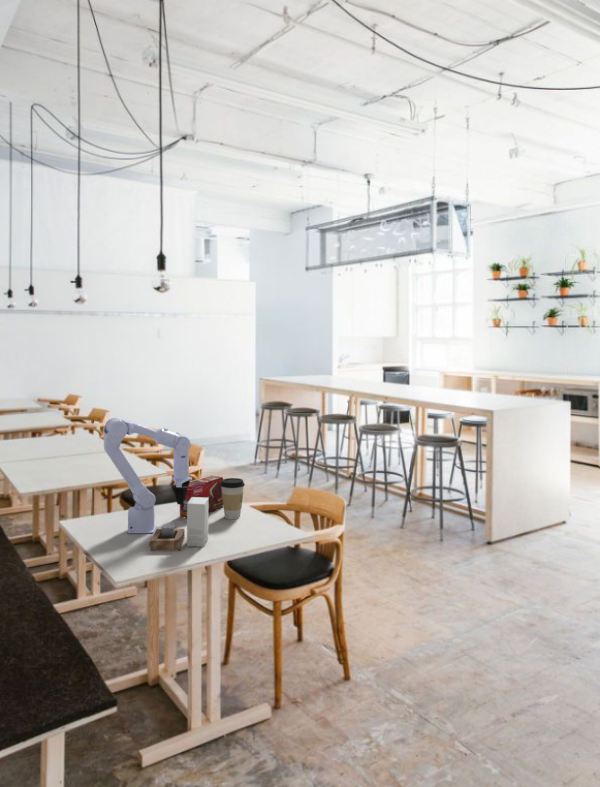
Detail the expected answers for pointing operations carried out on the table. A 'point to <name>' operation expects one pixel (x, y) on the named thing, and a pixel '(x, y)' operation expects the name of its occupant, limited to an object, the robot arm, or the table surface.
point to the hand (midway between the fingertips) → (181, 501)
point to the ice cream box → (204, 493)
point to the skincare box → (197, 521)
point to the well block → (167, 540)
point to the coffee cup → (232, 497)
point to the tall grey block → (168, 532)
